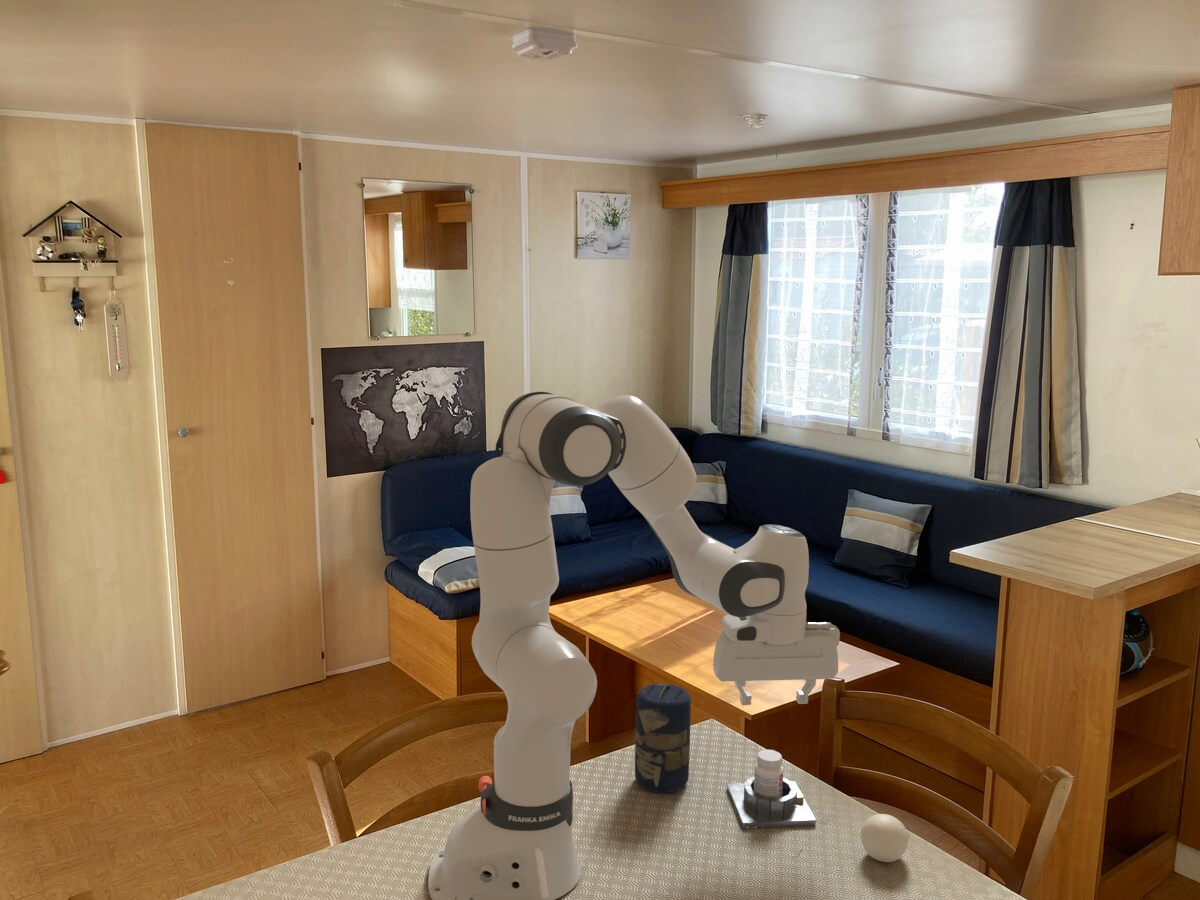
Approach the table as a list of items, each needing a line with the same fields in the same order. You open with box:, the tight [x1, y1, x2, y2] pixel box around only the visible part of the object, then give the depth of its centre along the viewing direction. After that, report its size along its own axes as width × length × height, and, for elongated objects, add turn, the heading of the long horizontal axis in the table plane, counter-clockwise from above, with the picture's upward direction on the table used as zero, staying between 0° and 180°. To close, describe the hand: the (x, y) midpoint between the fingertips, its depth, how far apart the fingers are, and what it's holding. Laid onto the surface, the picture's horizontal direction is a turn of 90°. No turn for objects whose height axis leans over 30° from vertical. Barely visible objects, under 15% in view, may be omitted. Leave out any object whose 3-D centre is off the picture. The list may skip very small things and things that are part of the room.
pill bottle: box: [753, 749, 784, 798], centre depth 161 cm, size 5×5×8 cm
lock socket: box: [726, 775, 817, 829], centre depth 162 cm, size 12×12×4 cm
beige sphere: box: [860, 813, 910, 863], centre depth 148 cm, size 7×7×7 cm
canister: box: [634, 682, 692, 793], centre depth 168 cm, size 10×10×18 cm
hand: (773, 703), depth 158 cm, fingers open, 8 cm apart
